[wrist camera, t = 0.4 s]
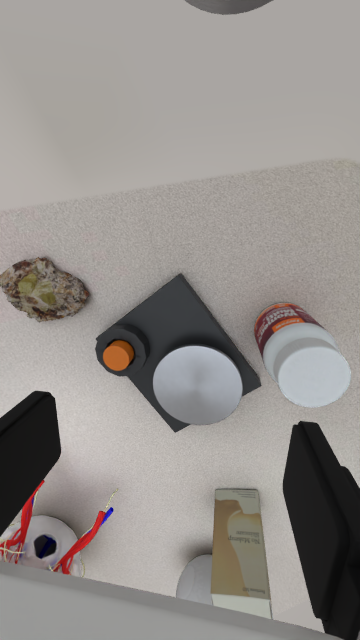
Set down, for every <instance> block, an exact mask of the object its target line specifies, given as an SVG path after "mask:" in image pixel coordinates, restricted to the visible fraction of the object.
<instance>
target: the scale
mask: <svg viewBox="0 0 360 640" xmlns="http://www.w3.org/2000/svg"><path fill="white" fill-rule="evenodd" d="M96 340H97V341H98V342H97V345H96V348H95V350H96V354H97V358H98V361H99V362H100V363H101V365H102V366H103V367H104V368H105V369H106V370H107V371H108V372H110V373H113V374H115V375H117V376H128V378H129V379H130V380H131V381H132V382H133V384H134V385H135V386H136V387H137V388H138V389H139V391H140V392H141V393H142V394H143V395H144V397H145V398H146V399H147V400H148V401H149V402H150V404H151V405H152V406H153V407H154V408H155V410H156V411H157V412H158V413H159V414H160V415H161V417H162V418H163V419H164V420H165V421H166V423H167V424H168V425H169V426H170V427H171V428H172V430H173V431H174V432H175V433H176V432H177V431H179V430H181V429H183V428H185V427H187V426H188V425H190V424H189V423H185V422H182V421H180V420H178V419H176V418H174V417H173V416H171V415H170V414H169V413H167V412H166V411H165V410H164V409H163V408H162V406H161V405H160V404H159V402H158V400H157V398H156V396H155V393H154V389H153V377H154V372H155V369H156V367H157V365H158V363H159V362H160V360H161V359H162V358H163V357H164V356H165V355H166V354H167V353H168V352H170V351H171V350H173V349H175V348H177V347H179V346H183V345H188V344H203V345H208V346H211V347H214V348H216V349H218V350H220V351H222V352H223V353H225V354H226V355H227V356H228V357H230V358H231V359H232V361H233V362H234V363H235V365H236V366H237V368H238V370H239V372H240V375H241V378H242V385H243V391H242V396H244V395H245V394H247V393H249V392H251V391H253V390H255V389H256V388H258V387H260V386H261V382H260V378H259V377H258V376H257V374H256V373H255V372H254V370H253V369H252V368H251V366H250V365H249V364H248V362H247V361H246V360H245V358H244V357H243V356H242V354H241V353H240V352H239V350H238V349H237V348H236V346H235V345H234V344H233V342H232V341H231V340H230V338H229V337H228V336H227V334H226V333H225V332H224V330H223V329H222V328H221V326H220V325H219V324H218V322H217V321H216V319H215V318H214V317H213V315H212V314H211V313H210V311H209V310H208V309H207V307H206V306H205V305H204V303H203V302H202V301H201V299H200V298H199V297H198V295H197V294H196V293H195V291H194V290H193V289H192V287H191V286H190V285H189V283H188V282H187V281H186V279H185V278H184V277H183V275H182V274H181V273H180V274H179V275H178V276H176V277H175V278H174V279H172V280H171V281H170V282H169V283H167V284H166V285H165V286H163V287H162V288H161V289H159V290H158V291H157V292H155V293H154V294H153V295H152V296H150V297H149V298H148V299H146V300H145V301H144V302H142V303H141V304H140V305H138V306H137V307H136V308H135V309H133V310H132V311H131V312H129V313H128V314H127V315H125V316H124V317H123V318H122V319H120V320H119V321H118V322H116V323H115V324H114V325H112V326H111V327H110V328H108V329H107V330H106V331H105V332H103V333H102V334H101V335H99V336H98V337H97V338H96ZM117 340H123V341H126V342H128V343H129V344H130V345H131V346H132V348H133V351H134V357H133V359H132V360H131V362H130V363H129V365H128V366H127V367H126V368H125V369H123V370H120V371H116V370H112V369H110V368H109V367H108V366H107V365H106V364H105V362H104V360H103V353H104V351H105V349H106V348H107V347H108V346H109V345H111V344H112V343H113V342H114V341H117Z"/></svg>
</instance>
